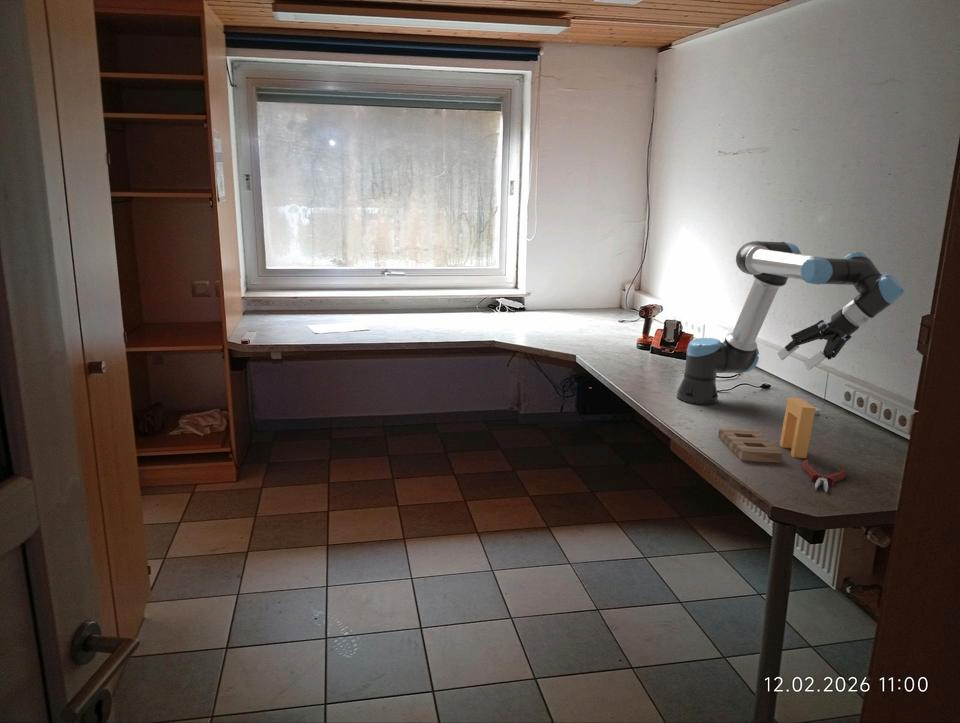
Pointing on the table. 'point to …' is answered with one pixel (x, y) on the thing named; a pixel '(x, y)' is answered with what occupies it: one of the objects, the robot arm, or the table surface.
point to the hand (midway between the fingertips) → (793, 362)
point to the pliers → (827, 479)
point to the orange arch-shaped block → (797, 427)
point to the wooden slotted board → (749, 445)
